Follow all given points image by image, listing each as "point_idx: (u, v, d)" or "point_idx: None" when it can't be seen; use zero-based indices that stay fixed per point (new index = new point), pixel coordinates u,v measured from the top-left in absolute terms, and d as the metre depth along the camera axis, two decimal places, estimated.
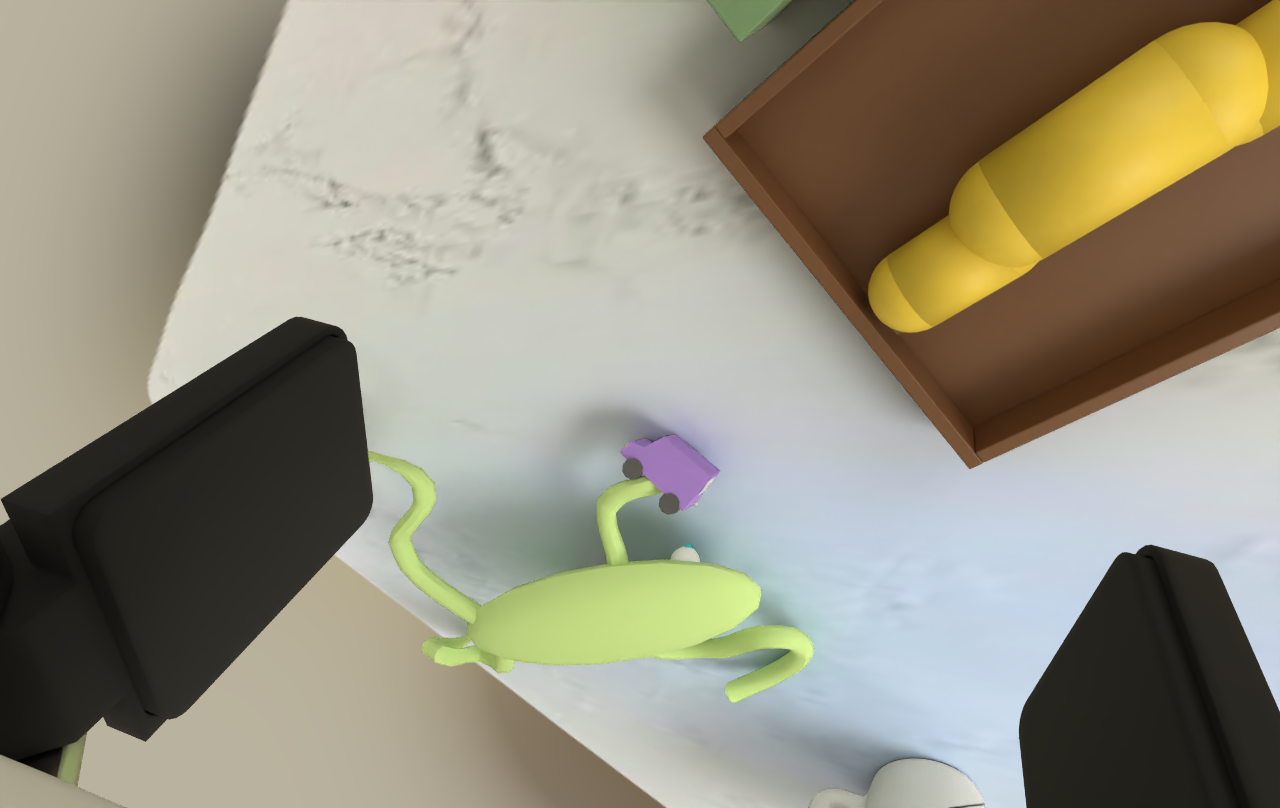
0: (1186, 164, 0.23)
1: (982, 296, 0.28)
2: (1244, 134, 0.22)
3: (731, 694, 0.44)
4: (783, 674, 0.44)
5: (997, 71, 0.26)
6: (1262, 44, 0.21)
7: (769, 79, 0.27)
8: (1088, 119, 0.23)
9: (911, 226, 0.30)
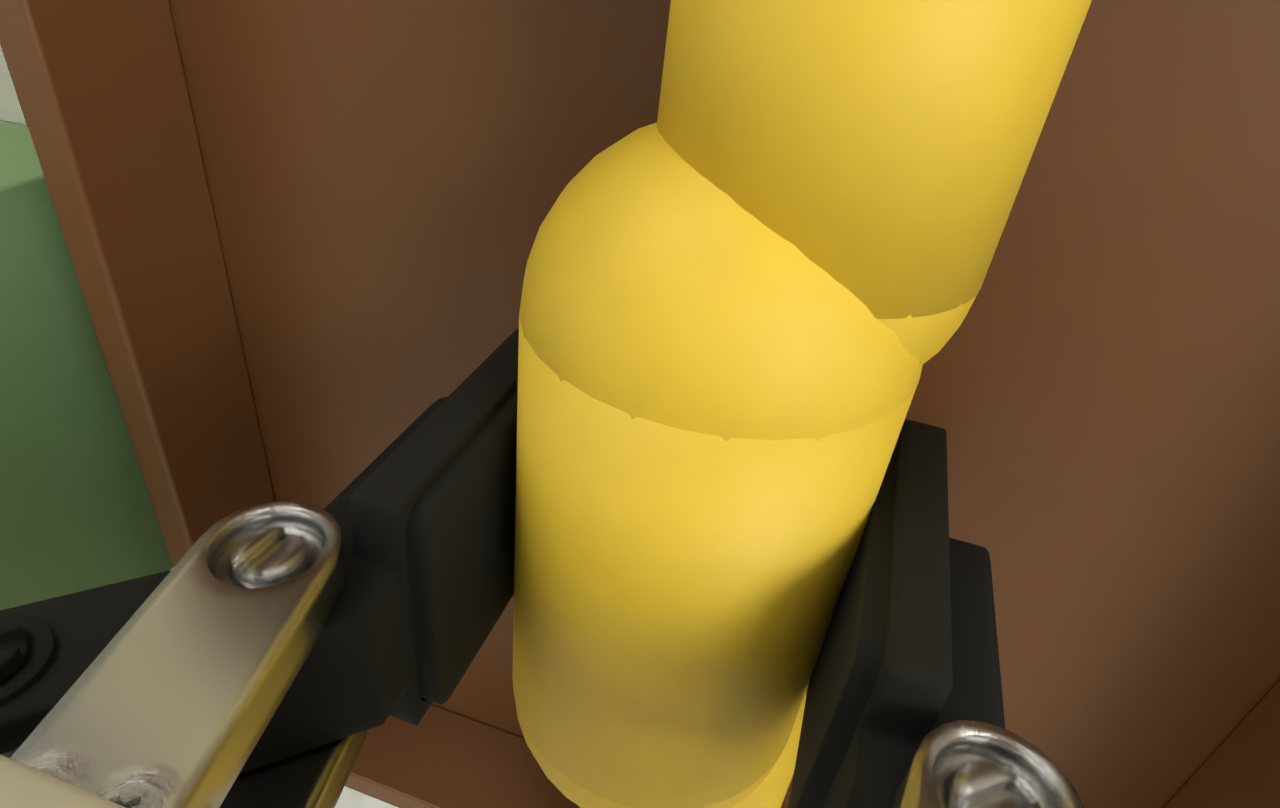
0: (798, 529, 0.07)
1: None
2: (868, 380, 0.06)
3: None
4: None
5: None
6: (685, 150, 0.06)
7: None
8: (523, 537, 0.08)
9: None
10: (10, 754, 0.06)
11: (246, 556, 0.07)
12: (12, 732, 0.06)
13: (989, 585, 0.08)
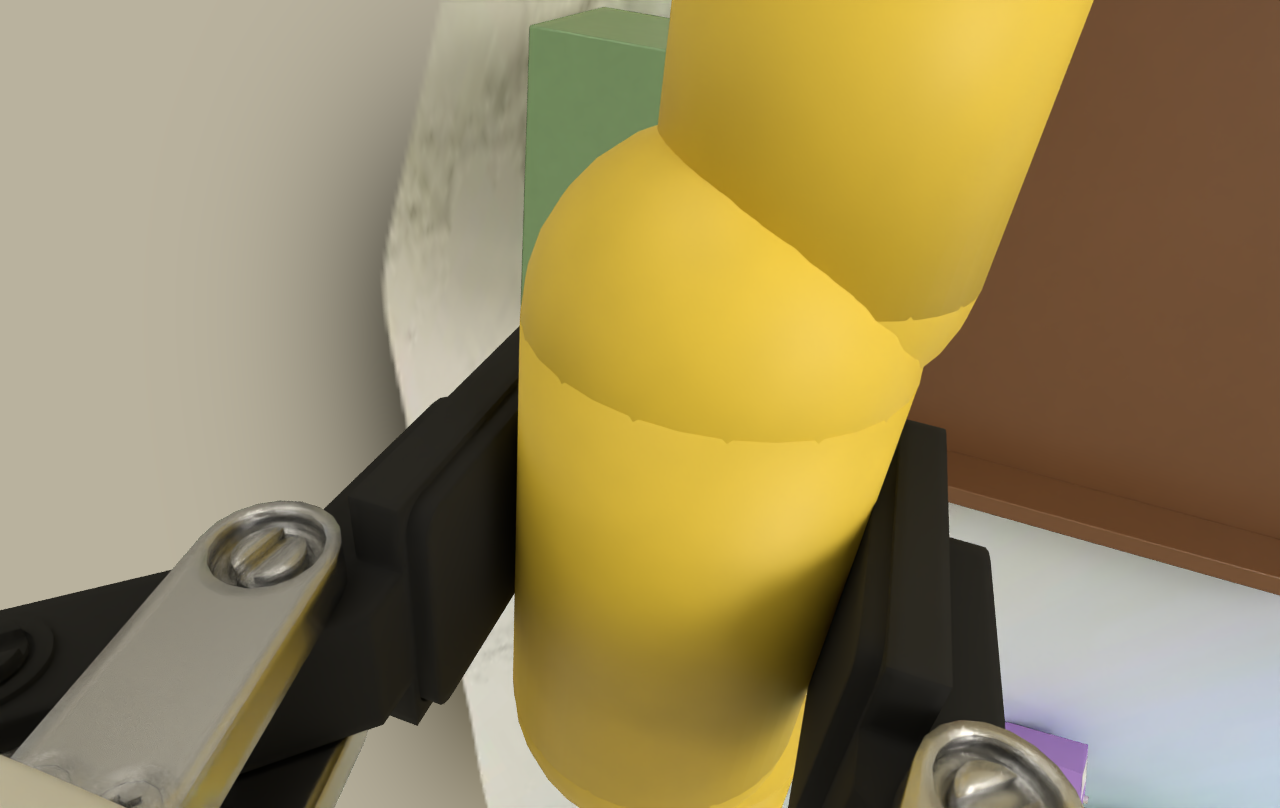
0: (798, 532, 0.07)
1: None
2: (869, 382, 0.06)
3: None
4: None
5: (1093, 219, 0.20)
6: (686, 153, 0.06)
7: None
8: (524, 539, 0.08)
9: (1117, 408, 0.23)
10: (10, 755, 0.06)
11: (246, 557, 0.07)
12: (13, 732, 0.06)
13: (989, 585, 0.08)
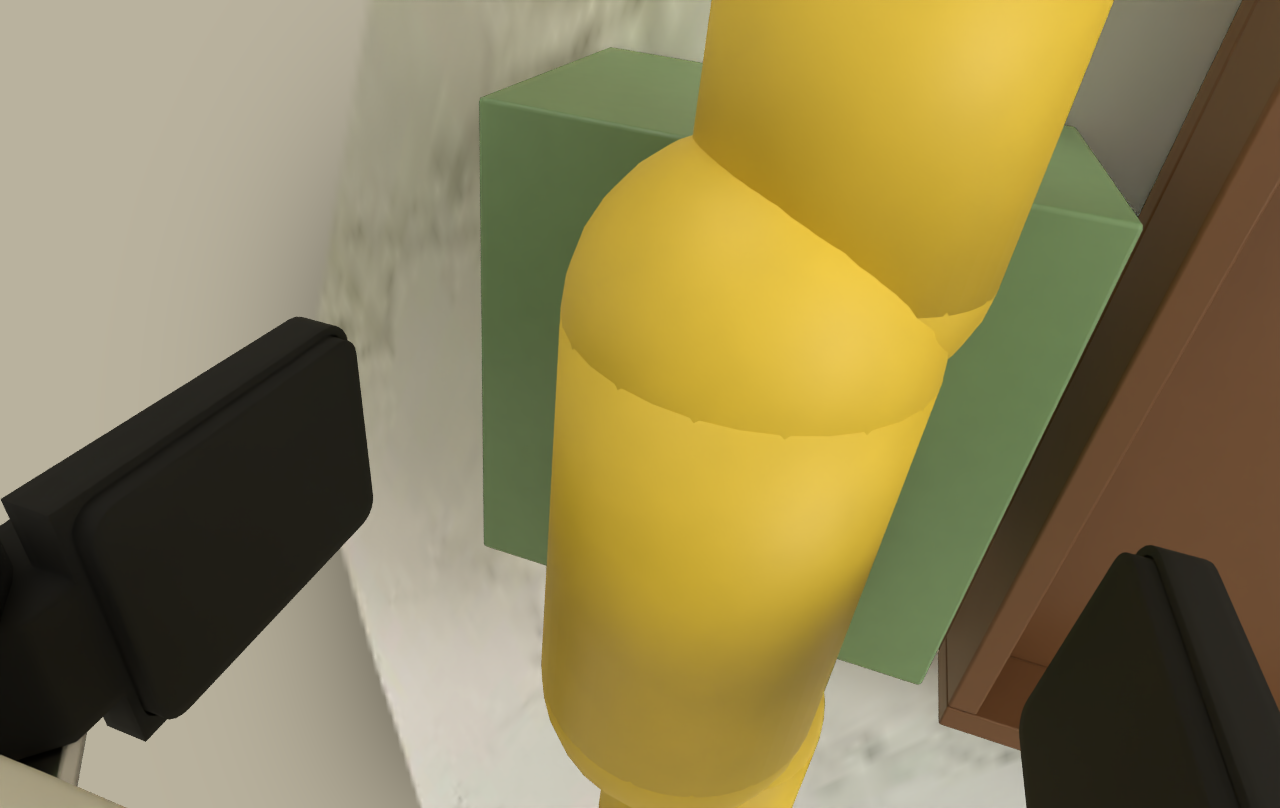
0: (843, 518, 0.07)
1: None
2: (911, 375, 0.07)
3: None
4: None
5: None
6: (733, 165, 0.07)
7: (993, 628, 0.15)
8: (565, 542, 0.09)
9: None
10: None
11: None
12: None
13: None
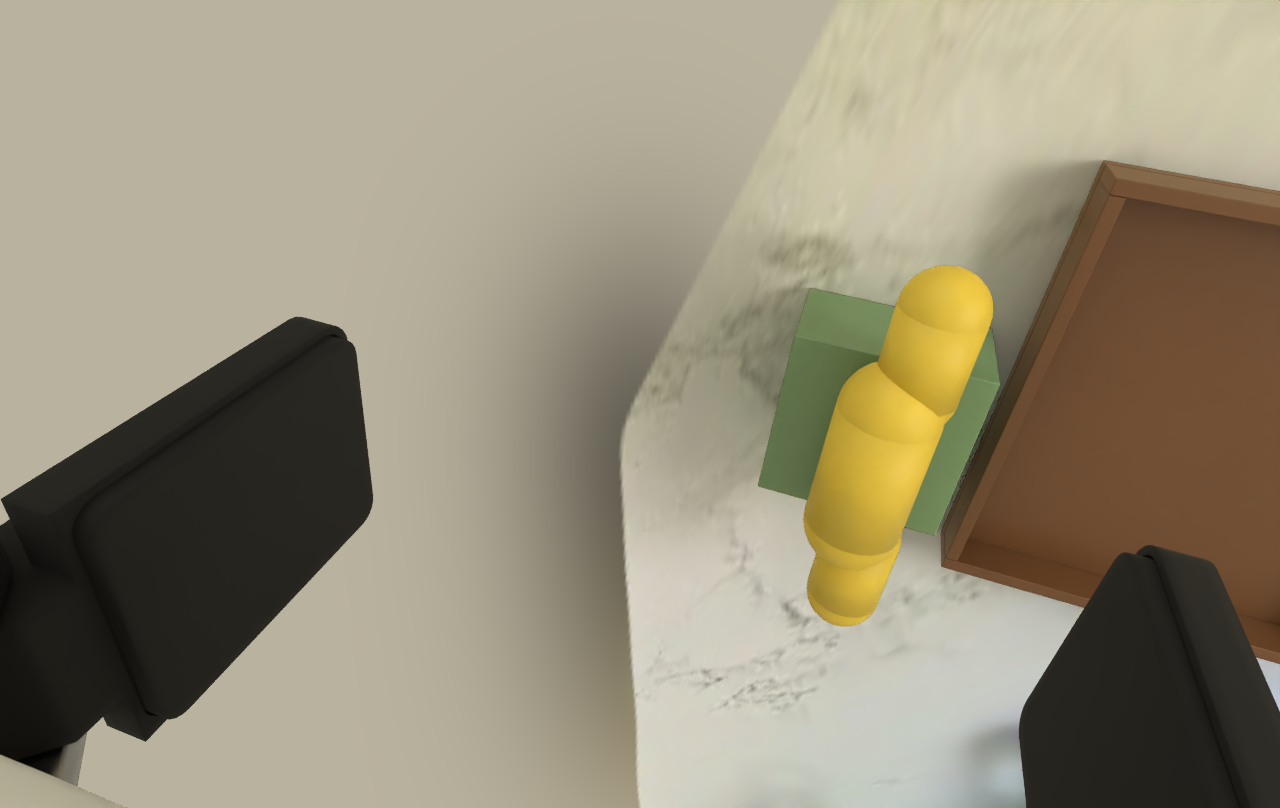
0: (917, 465, 0.29)
1: (884, 580, 0.33)
2: (935, 429, 0.28)
3: None
4: None
5: (1121, 427, 0.34)
6: (894, 380, 0.28)
7: (963, 520, 0.36)
8: (834, 474, 0.30)
9: (1136, 533, 0.36)
10: None
11: None
12: None
13: None
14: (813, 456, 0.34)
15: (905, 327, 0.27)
